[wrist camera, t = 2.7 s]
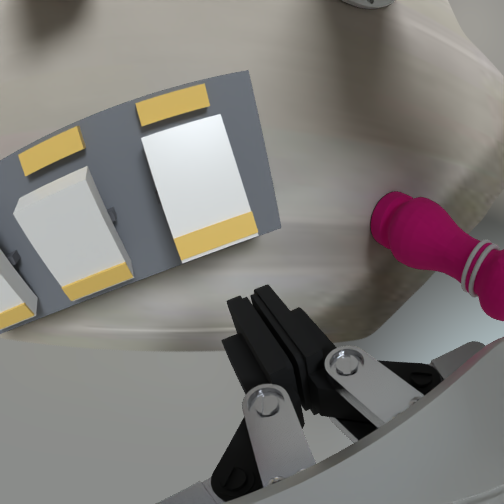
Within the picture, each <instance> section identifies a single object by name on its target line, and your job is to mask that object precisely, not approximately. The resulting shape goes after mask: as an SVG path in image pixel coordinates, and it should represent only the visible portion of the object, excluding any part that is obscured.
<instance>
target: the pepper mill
mask: <svg viewBox="0 0 504 504" xmlns="http://www.w3.org/2000/svg"><path fill="white" fill-rule="evenodd" d="M371 232H372V235H373V237H374V239H375V240H376V241H377V242H378V243H379V244H381V245H383V246H384V247H386V248H388V249H391V251H392V253H393V255H394V257H395V258H396V259H397V260H398V261H399V262H401V263H403V264H405V265H407V266H408V267H412V268H415V269H421V270H433V271H439V272H443V273H445V274H447V275H449V276H451V277H453V278H455V279H456V280H458V281H459V282H460V283H461V286H462V289H463V291H465V292H469V294H470V295H471V296H472V297H477V296H478V297H479V301H480V305H481V307H482V309H483V310H484V312H485V313H486V314H487V315H488V316H490V317H492V318H494V319H496V320H500V321H504V250H501V251H500V249H499V246H498V245H497V244H492V243H491V242H490V241H489V240H482V241H479V240H477V239H474V238H472V237H471V236H469V235H468V234H466V233H465V232H464V231H463V230H462V229H461V228H459V227H458V225H457V224H456V223H455V222H454V221H453V220H452V218H451V217H450V216H449V215H448V213H447V212H446V211H445V210H444V209H443V208H442V207H441V206H440V205H439V204H437V203H435V202H433V201H432V200H430V199H428V198H424V197H418V198H414V199H413V198H412V197H411V196H409V195H406V194H404V193H401V192H398V191H394V192H391V193H388V194H386V195H385V196H384V197H383V198H382V199H381V200H380V201H379V202H378V204H377V205H376V207H375V209H374V211H373V214H372V218H371Z"/></svg>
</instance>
